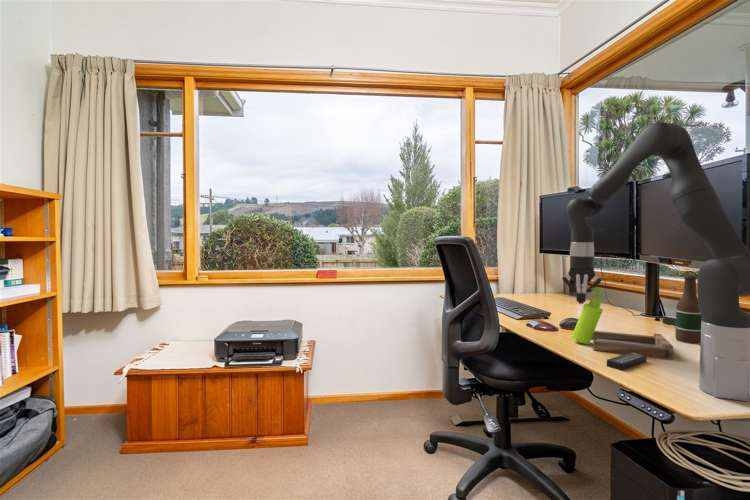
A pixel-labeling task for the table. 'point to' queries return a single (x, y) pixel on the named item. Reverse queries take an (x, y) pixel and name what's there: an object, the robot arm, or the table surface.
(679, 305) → the beer bottle
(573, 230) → the robot arm
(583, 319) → the soap dispenser
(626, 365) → the multiport hub
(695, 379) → the table surface
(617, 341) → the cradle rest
